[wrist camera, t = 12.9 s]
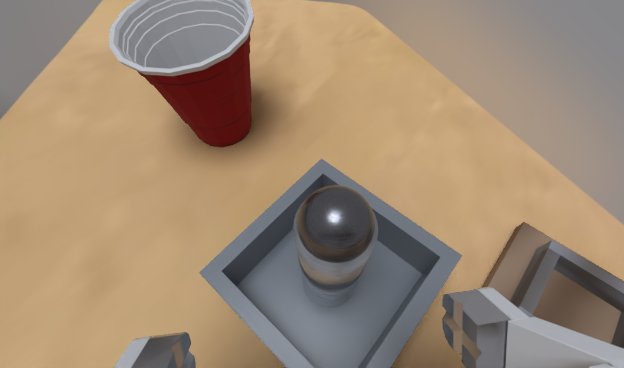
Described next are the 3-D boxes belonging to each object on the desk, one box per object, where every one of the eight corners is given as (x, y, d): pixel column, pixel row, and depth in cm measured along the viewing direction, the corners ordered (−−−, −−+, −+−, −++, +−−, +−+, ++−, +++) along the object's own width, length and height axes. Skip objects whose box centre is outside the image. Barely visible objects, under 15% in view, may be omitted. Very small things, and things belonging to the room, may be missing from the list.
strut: (363, 266, 23) (397, 184, 13) (344, 317, 21) (368, 269, 11) (315, 246, 24) (313, 155, 14) (293, 293, 22) (272, 228, 12)
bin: (437, 275, 23) (462, 255, 19) (341, 420, 19) (347, 434, 15) (321, 189, 28) (321, 158, 24) (220, 289, 23) (199, 272, 19)
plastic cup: (151, 153, 30) (67, 44, 20) (205, 85, 36) (160, -27, 26) (247, 181, 28) (206, 76, 18) (288, 105, 34) (275, -9, 24)
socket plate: (653, 311, 22) (697, 303, 19) (616, 446, 18) (665, 458, 15) (516, 227, 25) (538, 211, 23) (460, 324, 21) (479, 318, 19)
